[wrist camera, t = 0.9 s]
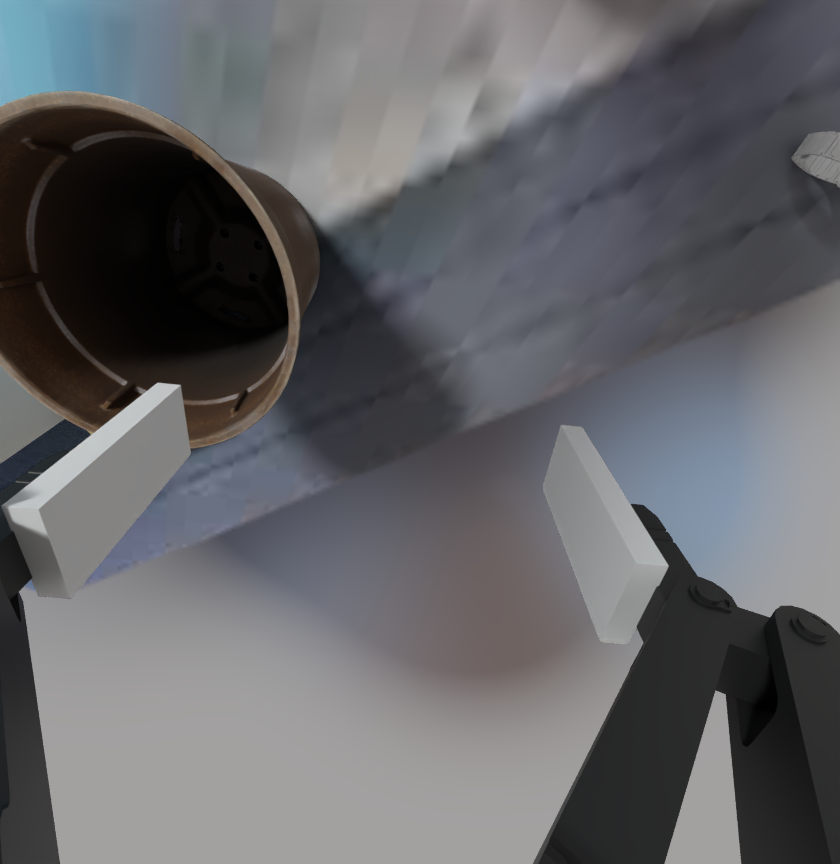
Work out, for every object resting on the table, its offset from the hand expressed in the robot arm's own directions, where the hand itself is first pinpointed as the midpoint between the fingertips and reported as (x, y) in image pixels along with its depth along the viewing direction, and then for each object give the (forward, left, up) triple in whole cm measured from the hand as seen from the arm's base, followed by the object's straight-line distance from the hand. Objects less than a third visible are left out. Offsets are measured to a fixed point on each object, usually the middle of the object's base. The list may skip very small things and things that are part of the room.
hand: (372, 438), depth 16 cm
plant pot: (-8, -10, -24) cm, 27 cm away
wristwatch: (+4, +30, -24) cm, 39 cm away
